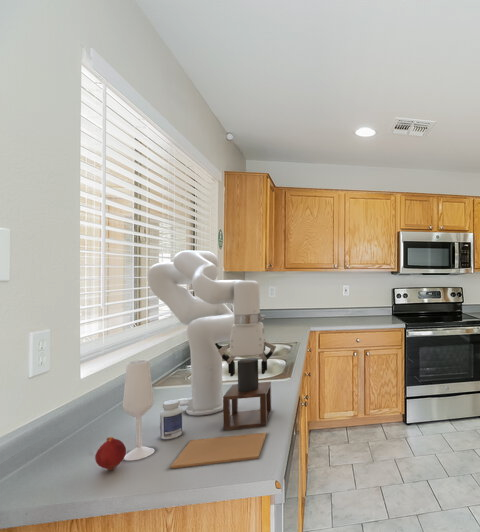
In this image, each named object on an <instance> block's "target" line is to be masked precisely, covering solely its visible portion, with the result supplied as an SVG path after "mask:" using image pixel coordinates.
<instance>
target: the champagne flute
mask: <svg viewBox="0 0 480 532" xmlns="http://www.w3.org/2000/svg"><path fill="white" fill-rule="evenodd" d="M151 373H152V372H151V366H150V360H149V359H137V360H131V361H128V362H126V369H125V379H124V387H123V388H124V389H123V400H122V409H123V411H124V412H125V413H126V414H128V415H129V416H131V417H133V418H135V436H136V438H135V439H136V440H135V441H136V444H135V445H136V447H134V448H133V449H132V450H130V451H129V452H127V453H126V455H125V457H124V459H123V460H125V461H128V462H129V461H137V460H143V459H145V458H147V457H150V456H151V455H153V454H154V453H155V449H154V448H153V447H149V446H145V445H143V427H142V426H143V424H142V423H143V422H142V421H143V419H142V418H143V416H144V415H146V414H147V413H148V412H149V410H151V408H152V407H153V405H154V403H155V397H154V389H153V382H152V374H151Z"/></svg>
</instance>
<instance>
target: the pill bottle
mask: <svg viewBox="0 0 480 532" xmlns="http://www.w3.org/2000/svg"><path fill="white" fill-rule="evenodd" d="M159 416H160V417H159V426H160V427H159V430H160V438H161V439H162V440H171V439H175V438H177V437H179V436H181V435H182V434H183V408H182V407H181V406H180V405H179V399H169V400H166V401H164V402H163V403H162V410H161V411H160V413H159Z"/></svg>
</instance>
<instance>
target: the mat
mask: <svg viewBox="0 0 480 532" xmlns="http://www.w3.org/2000/svg"><path fill="white" fill-rule="evenodd" d="M267 435H268V434H267V432H258V433H257V432H256V433H250V434H248V433H247V434H238V435H231V436H230V435H227V436H217V437H210V438H209V437H208V438H199V439H191V440H189V442H188V443H187V444H186V445H185V447H184V448H183V449H182V451H181V452H180V453H179V455H178V456H177V457H176V458H175V460H174V461H173V462H172V464H171V465H170V469H178V468H179V469H180V468H188V467H197V466H204V465H205V466H206V465H213V464H215V465H216V464H222V463H231V462H232V463H233V462H240V461H247V460H249V461H250V460H258V459H259V458H260V454H261V452H262V450H263V446H264V444H265V440H266V437H267Z"/></svg>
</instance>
